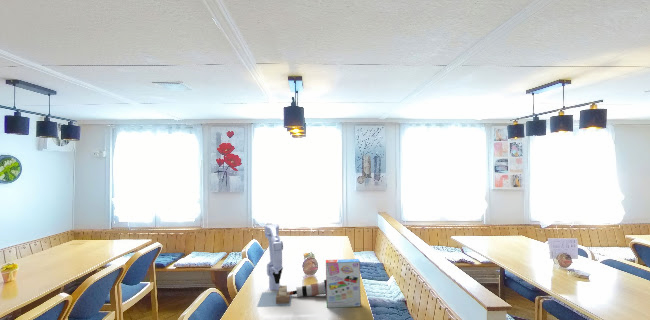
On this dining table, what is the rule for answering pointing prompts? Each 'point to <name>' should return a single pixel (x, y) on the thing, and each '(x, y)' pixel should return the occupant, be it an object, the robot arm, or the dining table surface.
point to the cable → (311, 290)
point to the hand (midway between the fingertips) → (277, 281)
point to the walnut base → (283, 298)
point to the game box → (343, 283)
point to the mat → (271, 300)
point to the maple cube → (282, 290)
